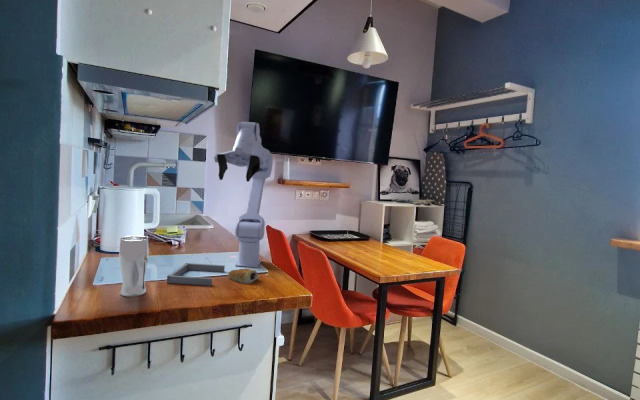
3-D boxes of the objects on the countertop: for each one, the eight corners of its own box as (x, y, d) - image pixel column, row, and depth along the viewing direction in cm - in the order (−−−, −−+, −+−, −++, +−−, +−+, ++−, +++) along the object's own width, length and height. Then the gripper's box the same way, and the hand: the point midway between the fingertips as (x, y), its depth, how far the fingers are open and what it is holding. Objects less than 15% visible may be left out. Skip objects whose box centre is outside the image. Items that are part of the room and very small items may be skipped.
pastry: (222, 279, 114) (223, 267, 114) (236, 274, 120) (236, 263, 120) (247, 285, 110) (248, 273, 110) (260, 279, 116) (260, 268, 116)
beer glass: (152, 289, 101) (153, 236, 100) (139, 298, 94) (141, 241, 93) (127, 287, 101) (128, 234, 100) (113, 296, 94) (113, 239, 93)
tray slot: (185, 268, 122) (186, 263, 122) (224, 271, 122) (224, 265, 122) (166, 282, 107) (167, 276, 107) (210, 285, 107) (211, 279, 107)
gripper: (217, 136, 109) (205, 165, 99) (265, 139, 109) (258, 168, 99) (221, 154, 114) (210, 184, 104) (267, 157, 114) (260, 187, 104)
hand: (233, 178), depth 102 cm, fingers open, 7 cm apart
